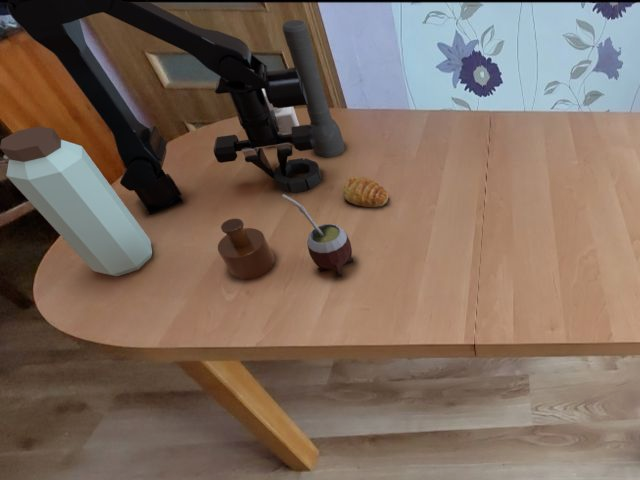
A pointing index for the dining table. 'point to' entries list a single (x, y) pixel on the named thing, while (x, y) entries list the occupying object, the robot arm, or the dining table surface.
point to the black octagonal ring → (301, 182)
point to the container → (284, 117)
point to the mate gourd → (327, 244)
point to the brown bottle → (244, 250)
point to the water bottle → (76, 200)
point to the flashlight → (313, 90)
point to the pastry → (364, 192)
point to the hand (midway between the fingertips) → (279, 177)
